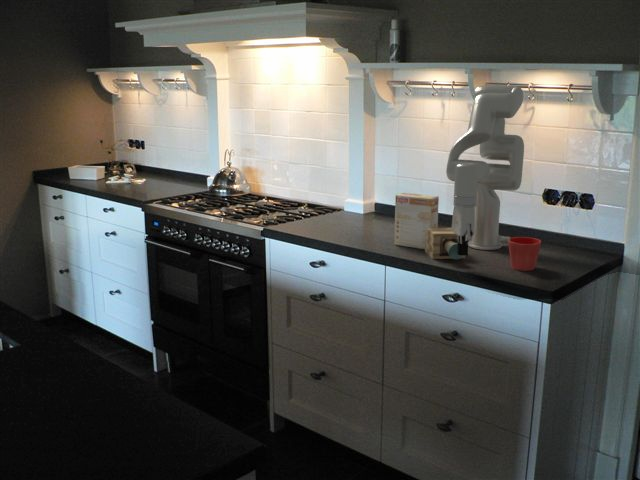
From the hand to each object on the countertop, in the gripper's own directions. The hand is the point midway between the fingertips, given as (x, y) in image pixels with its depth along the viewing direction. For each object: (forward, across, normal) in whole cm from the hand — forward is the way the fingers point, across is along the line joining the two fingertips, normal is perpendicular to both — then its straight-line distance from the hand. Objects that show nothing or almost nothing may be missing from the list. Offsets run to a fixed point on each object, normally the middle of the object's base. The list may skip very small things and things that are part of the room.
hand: (462, 254), depth 238 cm
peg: (+3, -11, 0) cm, 12 cm away
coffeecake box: (+5, -34, -7) cm, 35 cm away
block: (+5, -19, 0) cm, 19 cm away
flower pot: (+5, +1, +21) cm, 22 cm away
